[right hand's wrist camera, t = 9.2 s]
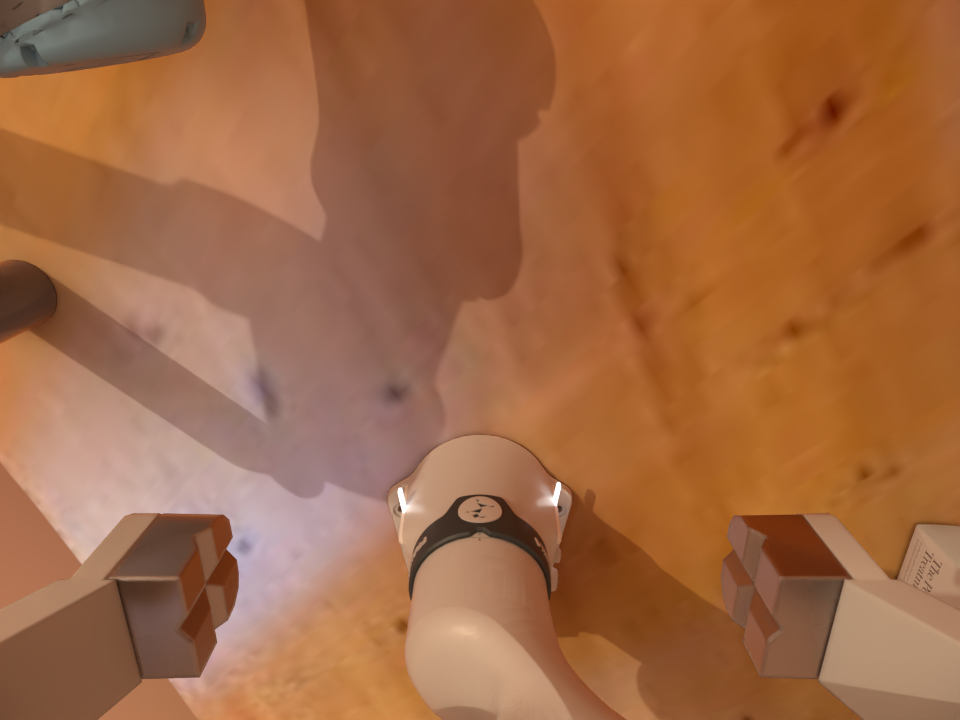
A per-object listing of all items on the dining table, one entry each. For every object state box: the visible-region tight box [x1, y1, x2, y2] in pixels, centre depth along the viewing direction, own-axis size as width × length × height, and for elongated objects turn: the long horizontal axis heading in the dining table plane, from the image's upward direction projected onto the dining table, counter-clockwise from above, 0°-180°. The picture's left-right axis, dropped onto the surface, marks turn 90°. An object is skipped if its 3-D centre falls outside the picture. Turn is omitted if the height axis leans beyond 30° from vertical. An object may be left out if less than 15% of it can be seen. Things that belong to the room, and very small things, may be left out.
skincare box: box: [897, 524, 960, 610], centre depth 64 cm, size 21×6×16 cm, turn 178°
